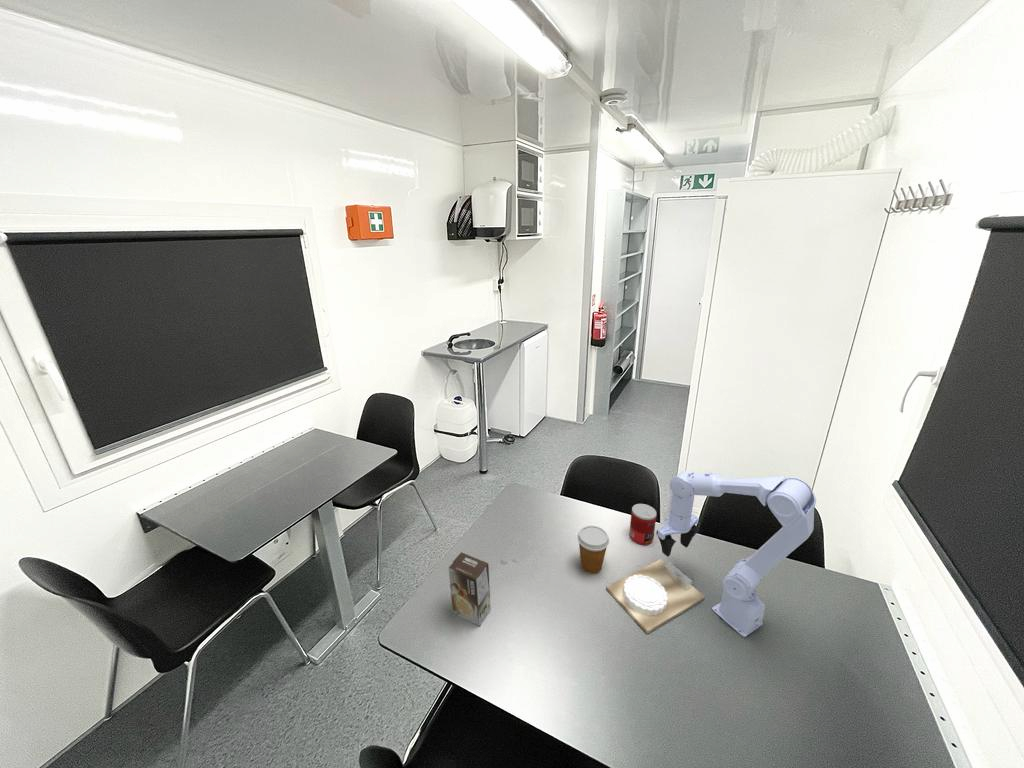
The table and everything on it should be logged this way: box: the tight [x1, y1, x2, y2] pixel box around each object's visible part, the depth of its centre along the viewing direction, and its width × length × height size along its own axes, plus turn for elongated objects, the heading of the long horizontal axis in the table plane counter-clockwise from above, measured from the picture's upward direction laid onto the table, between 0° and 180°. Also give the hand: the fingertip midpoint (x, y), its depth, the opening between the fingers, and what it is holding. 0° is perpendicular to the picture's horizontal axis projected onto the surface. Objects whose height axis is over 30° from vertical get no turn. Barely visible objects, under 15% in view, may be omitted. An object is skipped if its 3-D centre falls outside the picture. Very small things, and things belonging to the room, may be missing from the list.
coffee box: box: [448, 552, 492, 627], centre depth 107 cm, size 9×6×16 cm
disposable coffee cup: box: [576, 525, 610, 575], centre depth 122 cm, size 10×10×12 cm
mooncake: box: [623, 575, 668, 616], centre depth 111 cm, size 12×12×4 cm
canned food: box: [628, 503, 657, 546], centre depth 134 cm, size 8×8×11 cm
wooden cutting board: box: [605, 558, 706, 635], centre depth 113 cm, size 16×22×3 cm
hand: (675, 549), depth 117 cm, fingers open, 7 cm apart
